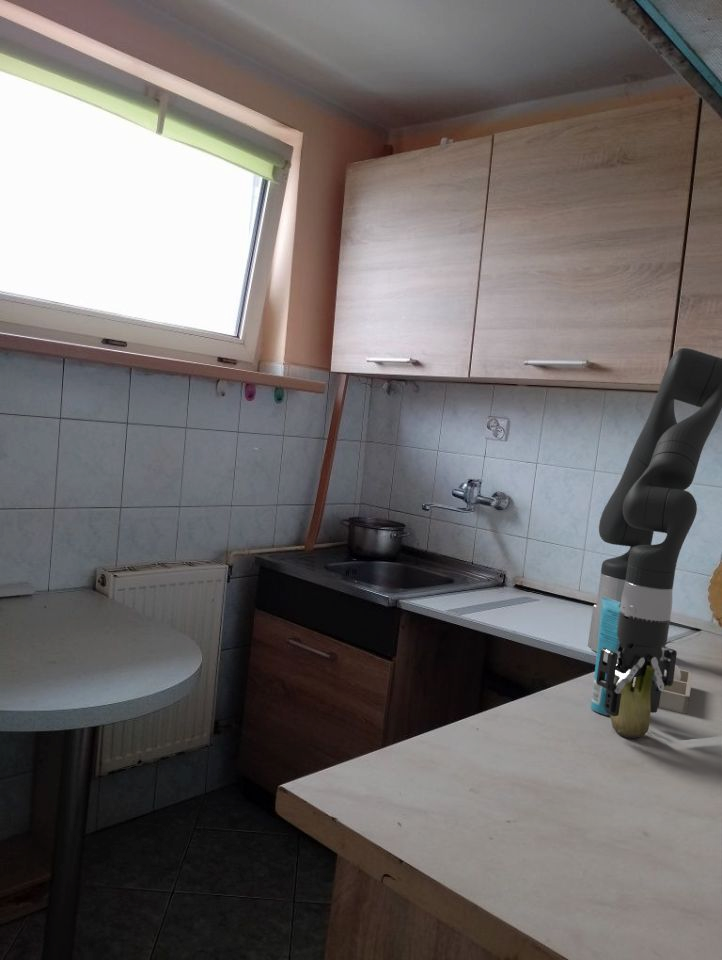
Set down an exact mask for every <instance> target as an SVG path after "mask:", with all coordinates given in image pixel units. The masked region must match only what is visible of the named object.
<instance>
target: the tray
mask: <svg viewBox="0 0 722 960" xmlns="http://www.w3.org/2000/svg"><path fill="white" fill-rule="evenodd" d="M679 670H680V672H681V680H680V681H678V680H674V679H673V684H672V685H671V686H668V685H667V686H665V687H664V689H663V690H662V691H661V696H660V703H659V707H658V709H664V710H668V711H671V712H677V713H681V714H684V715H688V708H689V701H690V694H691V687H692V680H693V679H692V678H693V671H689V670H685V669H680V668H679Z"/></svg>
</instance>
